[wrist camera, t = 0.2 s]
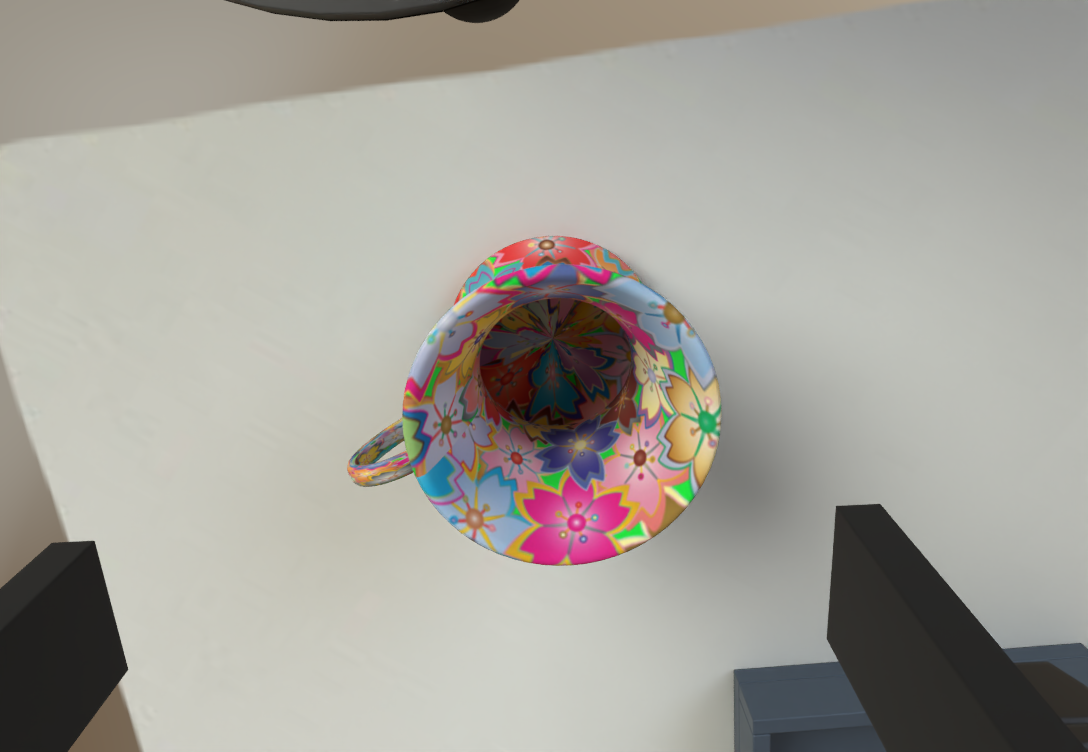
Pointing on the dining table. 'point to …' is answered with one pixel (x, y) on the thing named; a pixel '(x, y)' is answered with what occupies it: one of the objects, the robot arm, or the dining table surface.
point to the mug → (555, 408)
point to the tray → (835, 704)
